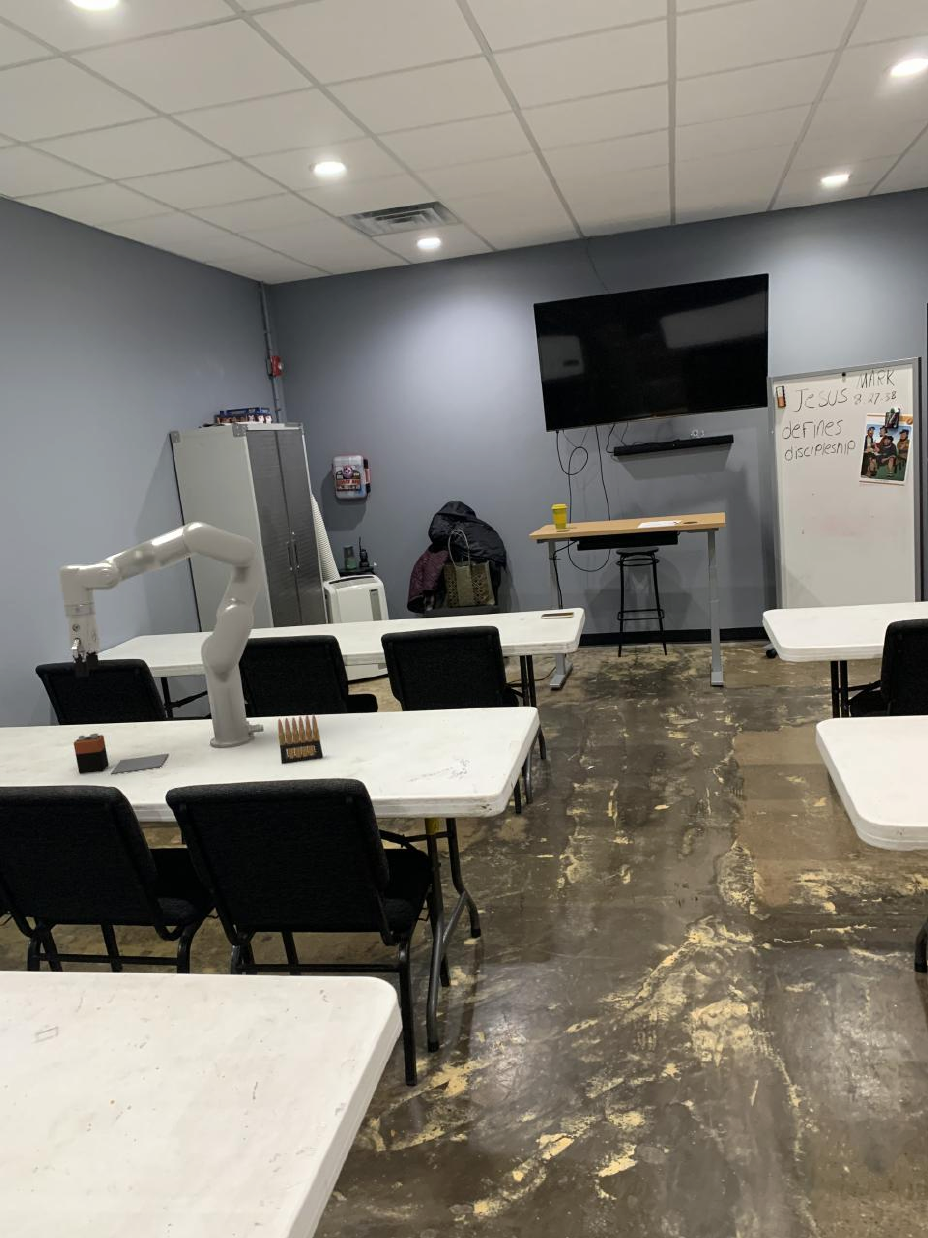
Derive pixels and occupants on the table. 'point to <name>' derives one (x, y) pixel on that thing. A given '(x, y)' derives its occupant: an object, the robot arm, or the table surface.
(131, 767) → the mat
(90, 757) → the battery
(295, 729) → the ammunition clip
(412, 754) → the table surface
